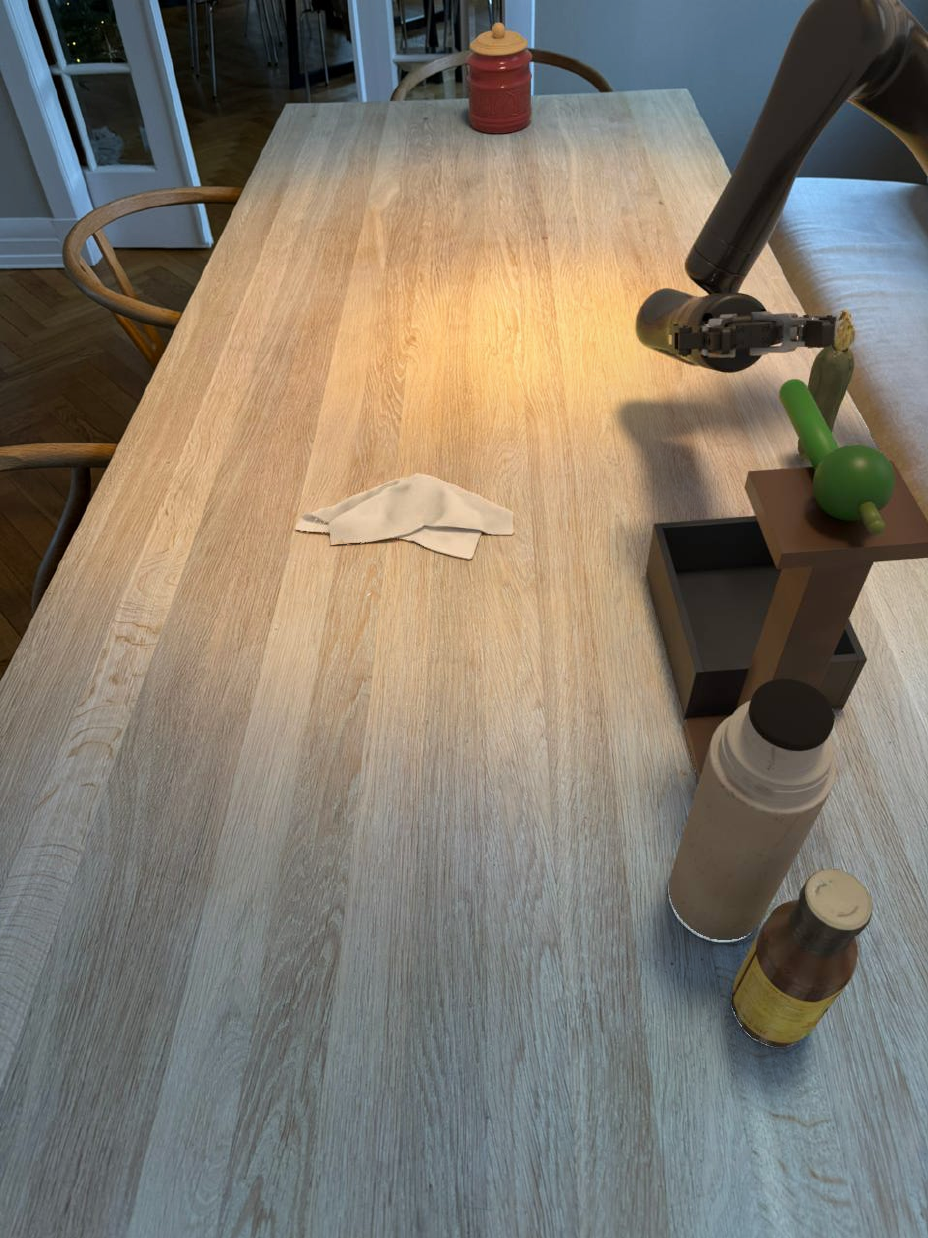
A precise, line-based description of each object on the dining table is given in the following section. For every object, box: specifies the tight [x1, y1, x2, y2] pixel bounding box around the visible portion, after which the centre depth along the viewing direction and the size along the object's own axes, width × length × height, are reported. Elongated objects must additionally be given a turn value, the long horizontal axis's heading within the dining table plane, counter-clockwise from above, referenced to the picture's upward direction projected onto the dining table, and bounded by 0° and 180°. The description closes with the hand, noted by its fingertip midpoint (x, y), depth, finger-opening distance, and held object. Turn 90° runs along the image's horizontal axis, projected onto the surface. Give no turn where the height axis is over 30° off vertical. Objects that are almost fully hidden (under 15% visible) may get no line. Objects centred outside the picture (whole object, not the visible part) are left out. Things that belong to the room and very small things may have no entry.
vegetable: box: [797, 309, 856, 461], centre depth 101 cm, size 4×4×20 cm
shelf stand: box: [683, 460, 928, 783], centre depth 70 cm, size 10×8×32 cm
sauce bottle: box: [730, 868, 874, 1048], centre depth 61 cm, size 6×6×20 cm
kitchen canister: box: [465, 22, 533, 134], centre depth 175 cm, size 13×13×18 cm
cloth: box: [294, 472, 515, 561], centre depth 106 cm, size 26×14×2 cm, turn 77°
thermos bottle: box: [668, 679, 837, 940], centre depth 63 cm, size 8×8×28 cm
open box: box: [645, 515, 868, 721], centre depth 89 cm, size 16×20×8 cm
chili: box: [778, 378, 895, 535], centre depth 59 cm, size 5×17×5 cm, turn 3°
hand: (776, 338), depth 75 cm, fingers open, 8 cm apart
